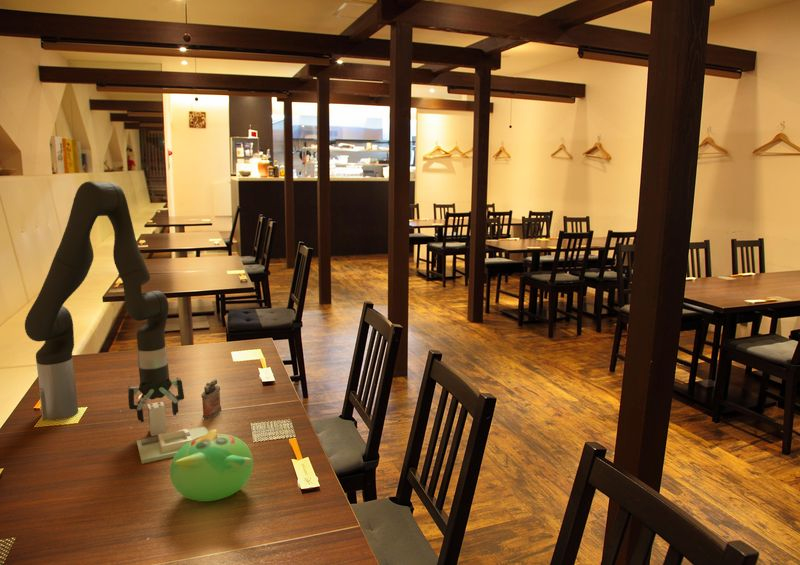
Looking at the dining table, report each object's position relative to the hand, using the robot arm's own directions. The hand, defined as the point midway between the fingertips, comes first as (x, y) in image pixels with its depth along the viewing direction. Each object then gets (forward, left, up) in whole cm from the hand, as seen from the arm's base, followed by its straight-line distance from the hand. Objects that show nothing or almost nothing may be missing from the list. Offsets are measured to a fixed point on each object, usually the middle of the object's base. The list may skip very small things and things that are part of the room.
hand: (158, 417), depth 164 cm
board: (+3, -11, -4) cm, 12 cm away
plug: (0, 0, -4) cm, 4 cm away
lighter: (+16, +5, -4) cm, 17 cm away
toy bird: (+7, -40, -4) cm, 41 cm away
